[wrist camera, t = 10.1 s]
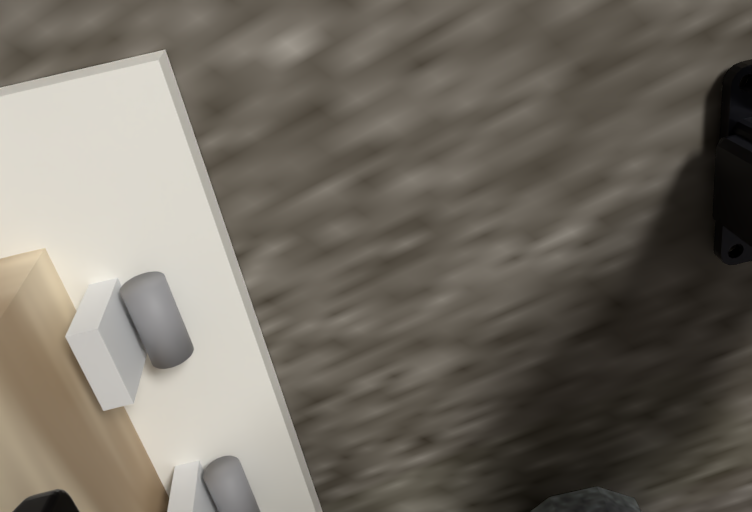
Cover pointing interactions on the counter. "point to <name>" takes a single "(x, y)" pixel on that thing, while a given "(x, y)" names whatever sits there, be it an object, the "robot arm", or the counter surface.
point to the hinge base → (150, 280)
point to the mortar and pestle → (589, 502)
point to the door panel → (60, 406)
